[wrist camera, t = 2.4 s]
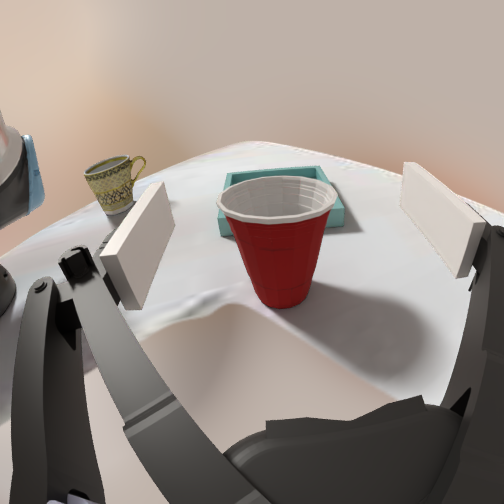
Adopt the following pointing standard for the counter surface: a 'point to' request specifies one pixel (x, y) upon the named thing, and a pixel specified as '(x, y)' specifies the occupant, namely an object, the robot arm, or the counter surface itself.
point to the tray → (308, 171)
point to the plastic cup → (279, 232)
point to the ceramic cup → (113, 183)
